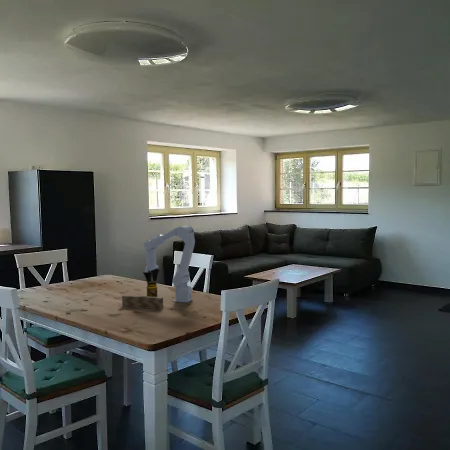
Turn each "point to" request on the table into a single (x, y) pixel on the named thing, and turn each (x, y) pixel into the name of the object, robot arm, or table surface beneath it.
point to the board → (142, 302)
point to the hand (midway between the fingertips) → (152, 282)
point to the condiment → (151, 289)
